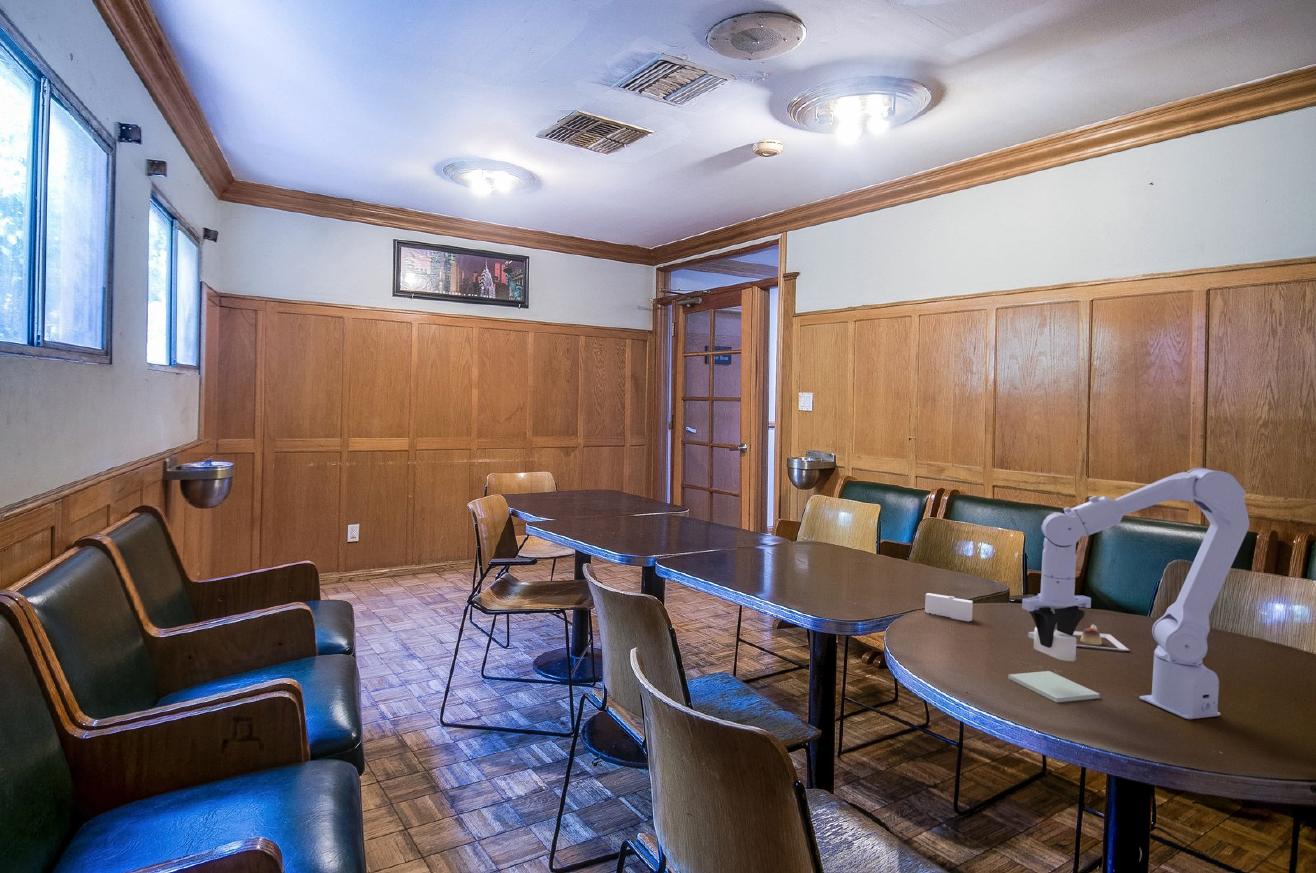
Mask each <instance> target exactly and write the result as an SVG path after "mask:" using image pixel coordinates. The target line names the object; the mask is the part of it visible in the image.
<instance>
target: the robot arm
mask: <svg viewBox="0 0 1316 873" xmlns="http://www.w3.org/2000/svg"><path fill="white" fill-rule="evenodd" d="M1245 494H1246V491H1245V489H1244V488H1243V486H1242V485H1241V484H1240V482H1238V481H1237V479H1236V477H1235V476H1233V475H1232V474H1230V473H1229V472H1226V471H1222V470H1212V469H1209V468H1208V467H1207V468H1206V467H1196V468H1192V469H1190V470H1188V471H1186V472H1185V471H1182V472H1178V473H1174V474H1172V475H1170V476H1167V477H1164V478H1161V479H1158V480H1156V481H1155V482H1152V483H1150V484H1147V485H1144V486H1143V487H1141V488H1137V489H1135V490H1133V491H1131V492H1128V493H1126V494H1124V495H1121V496H1118V497H1116V498H1111V497H1108V496H1105V495H1103V496H1099V497H1098V496H1097V495H1094V496H1093V495H1092V496H1091V497H1088V500H1089V501H1087V502H1085V503H1081V504H1080V505H1076V506H1074V507H1069V506H1067V507H1064V508H1063V511H1064V513H1063V512H1054V513H1051V514H1048V515H1047V516H1046V517H1045V518H1044V520H1043V522H1042V524H1041V525H1040V527H1041V528H1040V529H1041V533H1042V534H1043V536H1044V538H1043V544H1042V545H1043V549H1042V556H1041V557H1042V558H1041V559H1042V560H1041V578H1040V593H1037V595H1036V596H1032V597H1028V598H1022V600H1021V601H1022V603H1021V604H1022V605H1021V609H1023V610H1025V611H1028V613H1029V614H1030V616H1031V618H1032V619H1033V621H1034V624H1035V627H1037V631H1038V635H1039V639H1040V644H1041V645H1043V646H1045V647H1048V648H1051V647H1052V643H1053V636H1054V630H1057V631H1060V632H1062V633H1065V634H1068V635H1070V636H1073V637H1074V635H1073V633H1074V631H1075V630H1076V628H1077V627H1078V625H1079V623H1080V621H1081V620H1082V619H1083V618H1084V617H1085V611H1084V610H1082V609H1079V608H1086V609H1089V608H1090V609H1091V608H1092V607H1091V606H1092V605H1091V604H1092V598H1091V597H1089V596H1085V595H1075V590H1076V587H1075V586H1076V571H1077V570H1076V567H1077V554H1076V553H1077V552H1076V548H1077V543H1078V542H1079V540H1080V539H1081V537H1083V538H1084V537H1088V536H1092V535H1094V534H1095V533H1099V532H1102V531H1105V530H1106V529H1109V528H1112V527H1115V526H1117V525H1119V524H1120V523H1121V521H1122V519H1123V517H1124V516H1125V515H1127V514H1130V513H1133V512H1136V511H1137V512H1138V511H1139V510H1143V509H1145V508H1149V507H1152V506H1154V505H1159V504H1161V503H1164V502H1168V501H1169V500H1170V501H1171V500H1172V501H1180V502H1182V501H1183V502H1190V503H1191V502H1192V503H1194V504H1195V505H1196V506H1198V507H1199V508H1200V510H1201V511H1202V514H1204V516H1205V518H1206V519H1207V521H1208V522H1209V525H1208V526H1209V527H1208V529H1207V532H1206V533H1205V536H1204V538H1203V540H1202V542H1201V544H1200V546H1199V549H1198V551H1197V553H1196V556H1195V558H1194V560H1193V562H1192V564H1191V567H1190V569H1189V571H1188V574H1187V576H1186V578H1185V580H1184V583H1183V584H1182V587H1181V588H1180V589H1181V590H1180V591H1179V593H1178V596H1177V598H1176V600H1175V602H1173V603H1172V604H1170V605H1169V606H1168V607H1167V608H1166V611H1165V613H1164V614H1163V615H1162V616H1161V617H1159V618H1158V619H1157V620H1156V621H1155V622H1154V623H1153V625H1152V629H1151V633H1152V637H1153V639H1154V640H1155V642H1156V643H1157V647H1156V648H1155V650H1154V651H1153V665H1152V666H1153V668H1152V686H1151V687H1152V688H1151V694H1147V695H1140V696H1139V699H1140V700H1142V701H1144V702H1147V703H1149V704H1152V705H1153V706H1156V707H1158V708H1161V709H1163V710H1165V711H1167V712H1169V713H1172V714H1174V715H1177V716H1179V717H1181V718H1183V719H1187V720H1193V719H1194V720H1195V719H1201V718H1202V719H1203V718H1209V717H1210V718H1213V717H1220V716H1221V712H1219V710H1218V708H1219V707H1218V705H1219V692H1220V690H1219V689H1220V680H1219V677H1218V674H1217V673H1216V672H1215V671H1213V670H1212V669H1209V668H1208V667H1206V665H1204V663H1203V659H1204V658H1205V657H1206V656H1207V653H1208V641H1207V639H1208V635H1209V632H1210V630H1211V628H1210V619H1209V618H1210V617H1209V616H1210V614H1211V611H1212V609H1213V607H1214V604H1215V602H1216V600H1217V599H1218V596H1219V595H1220V591H1221V589H1222V587H1223V585H1224V583H1225V582H1226V578H1227V576H1228V574H1229V572H1230V569H1231V568H1232V565H1233V563H1234V561H1235V559H1236V557H1237V555H1238V552H1239V550H1240V548H1241V546H1242V544H1243V542H1244V539H1245V537H1246V535H1247V533H1248V531H1249V527H1250V518H1249V515H1248V510H1247V506H1246V500H1245ZM1055 628H1056V629H1055Z"/></svg>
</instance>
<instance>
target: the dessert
mask: <svg viewBox="0 0 1316 873" xmlns="http://www.w3.org/2000/svg"><path fill="white" fill-rule="evenodd" d="M1073 636H1080V639H1079V641H1080V642H1082V643H1084V644H1087V645H1083V644H1076V648H1077V647H1078V648H1086V649H1095V650H1096V649H1097V650H1107V651H1108V650H1109V651H1119V652H1127V651H1130V648H1128V647H1126V646H1125V645H1124V644H1123V643H1121V642H1120V641H1119V640H1118V639H1116V638H1115V637H1114V636H1112V634H1110V633H1100V631H1099V630H1098V627H1097V625H1095V624H1094V623H1092V624H1091V626H1090V627H1089V628H1087V627H1086V628H1084V629H1083V631H1074V633H1073ZM1102 638H1104V639H1105V638H1106V639H1107V640H1108V641H1109V642H1110V643H1111V644H1112V645H1114V646H1115V648H1114V647H1105V646H1100V645H1103V642H1102ZM1092 645H1093V646H1092Z"/></svg>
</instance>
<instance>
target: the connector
mask: <svg viewBox="0 0 1316 873" xmlns="http://www.w3.org/2000/svg"><path fill="white" fill-rule="evenodd" d="M1027 632H1028V633H1027V634H1028V635H1027V637H1028V638H1029V639H1032V640H1033V649H1034V650H1036V651H1039V652H1040V653H1044V654H1046V655H1047V656H1050V657H1052V658H1055V659H1056V660H1061V661H1065V662H1074V661H1076V659H1077V658H1076V656H1077V655H1076V654H1077V647H1076V645H1077V637H1075V636H1074V635H1073V636H1070V635H1068V634H1065V633H1062V632H1060V631H1057V629H1054V636H1053V643H1052V647H1051V648H1048V647H1045V646H1043V645H1041V644H1040V639H1039V635H1038V631H1037V627H1036V626H1035V627H1034V630H1033V631H1027Z"/></svg>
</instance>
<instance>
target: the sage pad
mask: <svg viewBox="0 0 1316 873" xmlns="http://www.w3.org/2000/svg"><path fill="white" fill-rule="evenodd" d="M1007 678H1008V679H1009V680H1010V681H1013V682H1014V683H1017V684H1019V685H1020V686H1023V687H1024V688H1027V689H1029V690H1031V691H1033V692H1034V693H1037V694H1038V695H1040V696H1043V697H1044V698H1047V699H1049V700H1051V701H1053V702H1055V703H1066V702H1075V701H1084V700H1094V699H1100V697H1101V696H1100V695H1101V694H1100V693H1099V692H1096V691H1094V690H1092V689H1090V688H1087V687H1086V686H1083V685H1081V684H1078V683H1076V682H1075V681H1072V680H1070V679H1068V678H1066V677H1064V676H1061V675H1059V674H1058V673H1054V672H1052V671H1050V670H1046V671H1034V672H1024V673H1023V672H1021V673H1010V674H1008V677H1007Z"/></svg>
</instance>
